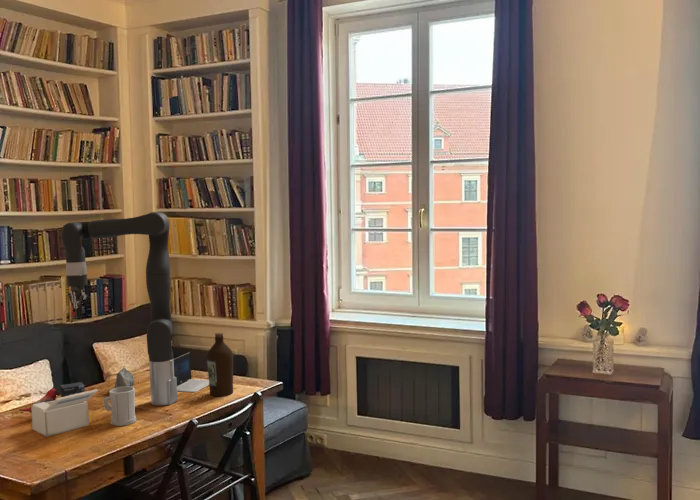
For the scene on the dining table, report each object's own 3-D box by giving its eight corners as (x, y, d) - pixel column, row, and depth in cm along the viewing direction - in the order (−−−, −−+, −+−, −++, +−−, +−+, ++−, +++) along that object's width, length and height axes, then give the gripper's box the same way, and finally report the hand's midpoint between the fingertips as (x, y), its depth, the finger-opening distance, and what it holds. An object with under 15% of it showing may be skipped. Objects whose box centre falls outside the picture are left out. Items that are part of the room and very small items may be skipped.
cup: (107, 428, 234) (106, 395, 234) (104, 421, 243) (102, 389, 242) (138, 423, 239) (136, 390, 238) (134, 416, 247) (132, 384, 247)
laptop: (195, 393, 277) (194, 362, 276) (169, 392, 281) (167, 361, 280) (216, 382, 294) (215, 352, 294) (191, 380, 298) (189, 351, 297)
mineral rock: (129, 384, 293) (128, 362, 292) (147, 387, 288) (146, 364, 287) (105, 392, 282) (104, 368, 281) (123, 395, 277) (121, 371, 276)
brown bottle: (227, 388, 282) (224, 329, 281) (239, 393, 274) (236, 333, 272) (203, 393, 276) (201, 333, 274) (215, 398, 268) (213, 337, 266)
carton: (32, 429, 236) (30, 404, 236) (74, 418, 247) (72, 394, 246) (46, 436, 228) (45, 411, 227) (89, 425, 239) (87, 400, 238)
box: (64, 415, 251) (62, 388, 250) (61, 412, 256) (59, 384, 255) (86, 411, 255) (84, 384, 255) (83, 408, 260) (81, 381, 259)
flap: (46, 408, 227) (56, 398, 221) (86, 398, 238) (97, 388, 231) (47, 410, 227) (57, 400, 221) (87, 400, 237) (97, 391, 231)
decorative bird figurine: (62, 412, 255) (60, 386, 254) (22, 427, 239) (20, 399, 238) (56, 411, 256) (55, 386, 255) (16, 426, 240) (15, 399, 239)
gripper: (59, 273, 262) (62, 317, 263) (74, 275, 253) (77, 320, 254) (78, 271, 267) (80, 314, 268) (93, 273, 258) (96, 317, 259)
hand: (79, 317), depth 261 cm, fingers closed
